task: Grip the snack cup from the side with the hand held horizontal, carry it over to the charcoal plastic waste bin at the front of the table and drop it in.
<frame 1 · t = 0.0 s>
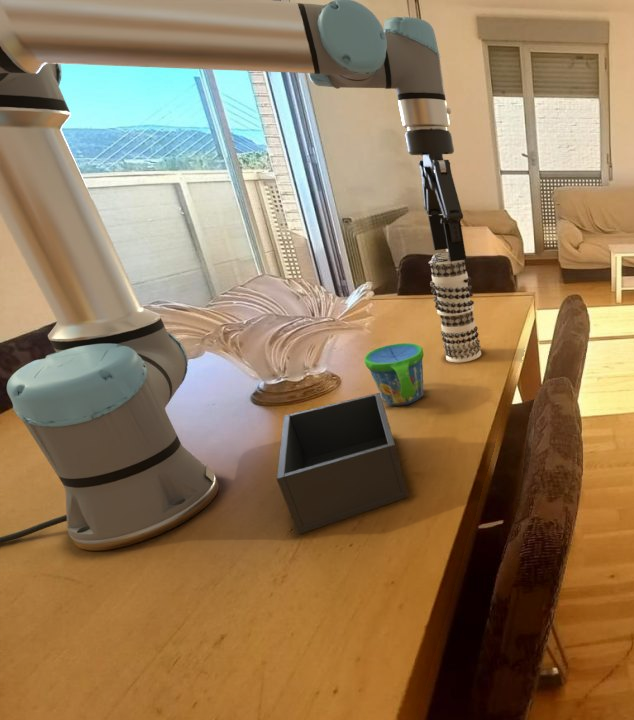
hand: (449, 254, 89), 28 cm above the table, tool pointing down, fingers open, 13 cm apart
decorative candle: (464, 356, 117), on the table
snack cup: (404, 399, 97), on the table
waste bin: (351, 479, 72), on the table
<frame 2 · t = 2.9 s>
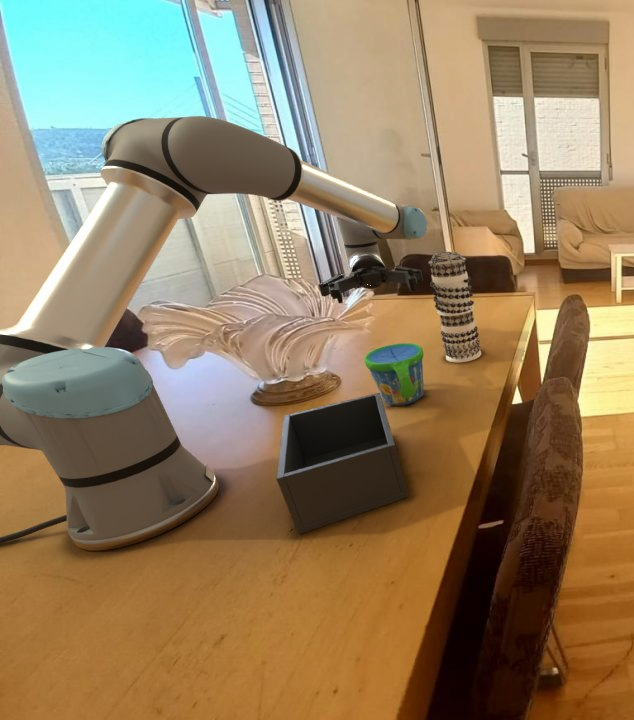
hand: (376, 290, 96), 20 cm above the table, tool horizontal, fingers open, 13 cm apart
nothing on the table moved.
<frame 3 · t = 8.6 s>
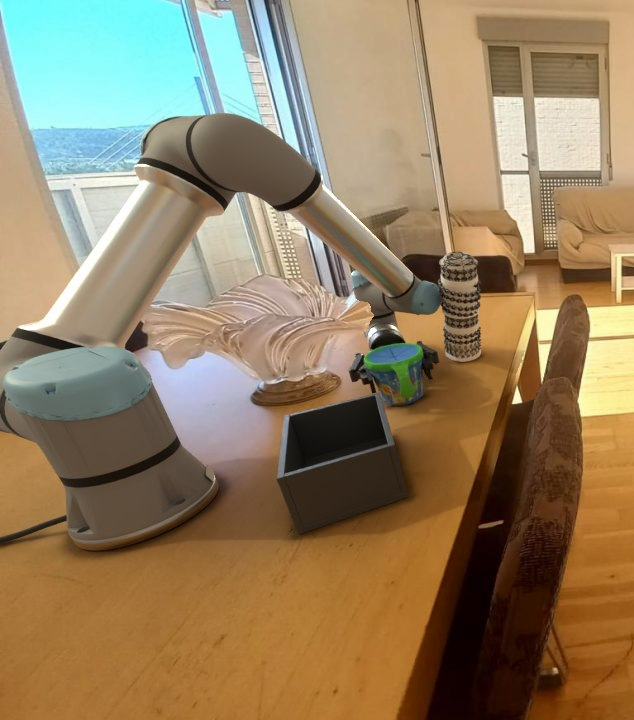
hand: (401, 379, 91), 6 cm above the table, tool horizontal, fingers closed on snack cup, 9 cm apart
decorative candle: (463, 352, 116), point 1 cm above the table, touching arm
snack cup: (404, 399, 97), on the table, touching gripper
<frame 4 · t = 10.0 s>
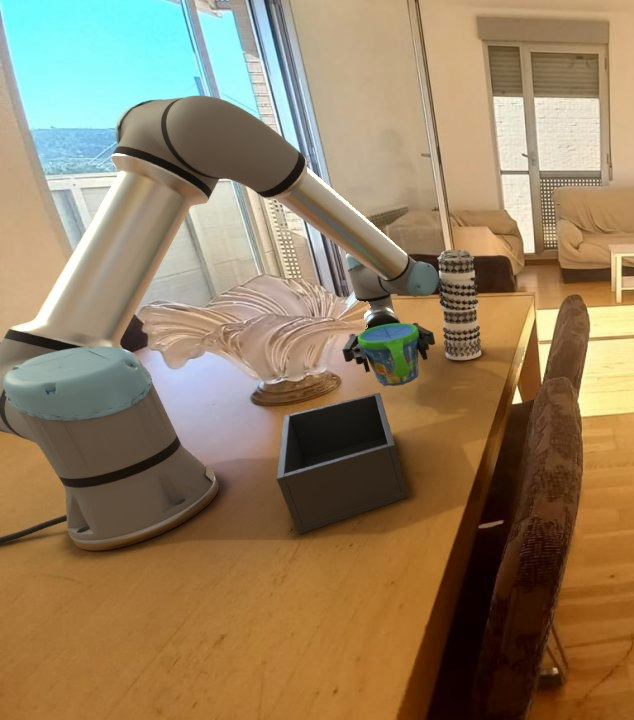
hand: (396, 359, 89), 10 cm above the table, tool horizontal, fingers closed on snack cup, 9 cm apart
decorative candle: (463, 354, 116), on the table
snack cup: (399, 380, 95), point 4 cm above the table, touching gripper
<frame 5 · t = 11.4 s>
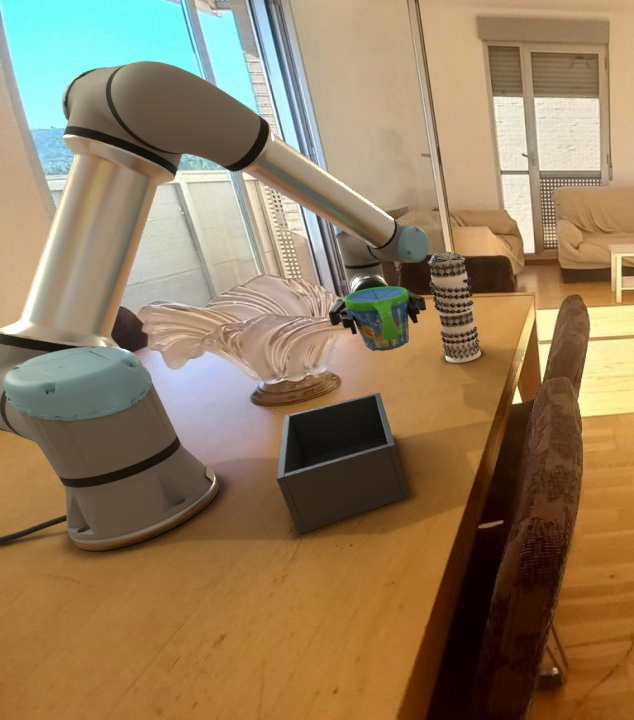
hand: (384, 321, 85), 18 cm above the table, tool horizontal, fingers closed on snack cup, 9 cm apart
snack cup: (388, 346, 90), point 12 cm above the table, touching gripper
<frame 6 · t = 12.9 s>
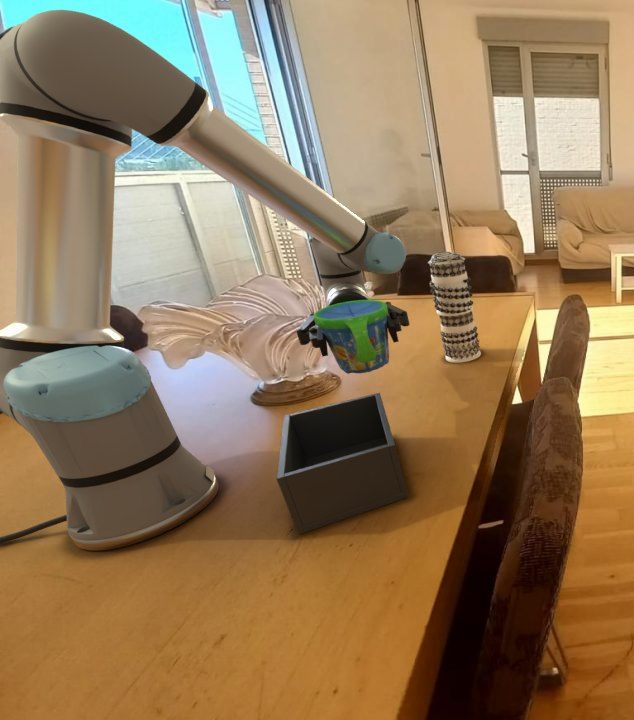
hand: (359, 340, 74), 19 cm above the table, tool horizontal, fingers closed on snack cup, 9 cm apart
snack cup: (366, 367, 80), point 13 cm above the table, touching gripper
when the fingers open (12 cm above the table, at t = 17.3 s): snack cup drops 4 cm, resting on waste bin.
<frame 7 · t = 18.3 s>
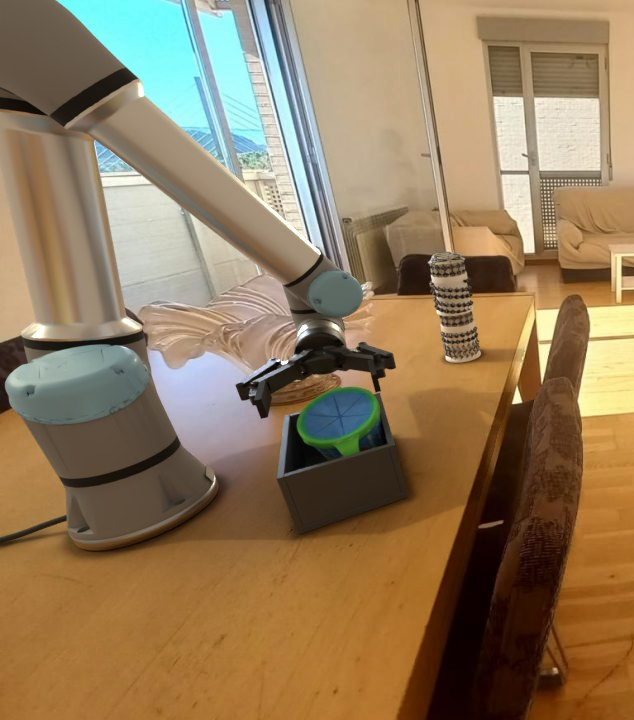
hand: (321, 395, 64), 16 cm above the table, tool horizontal, fingers open, 13 cm apart
snack cup: (361, 455, 75), point 2 cm above the table, touching waste bin
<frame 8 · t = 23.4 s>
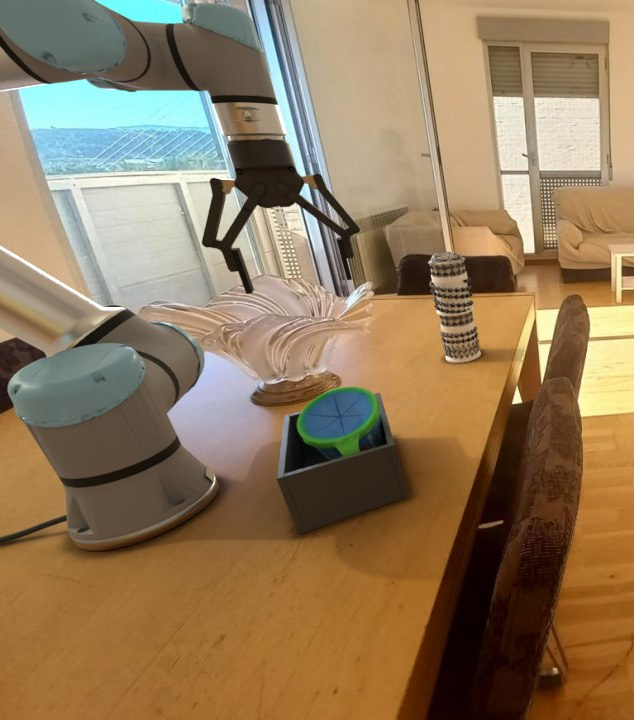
hand: (301, 285, 76), 27 cm above the table, tool pointing down, fingers open, 13 cm apart
at the end: snack cup inside the target area in the waste bin (3.3 cm from its centre), point 2.1 cm above the waste bin's base; the gripper is holding nothing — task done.
